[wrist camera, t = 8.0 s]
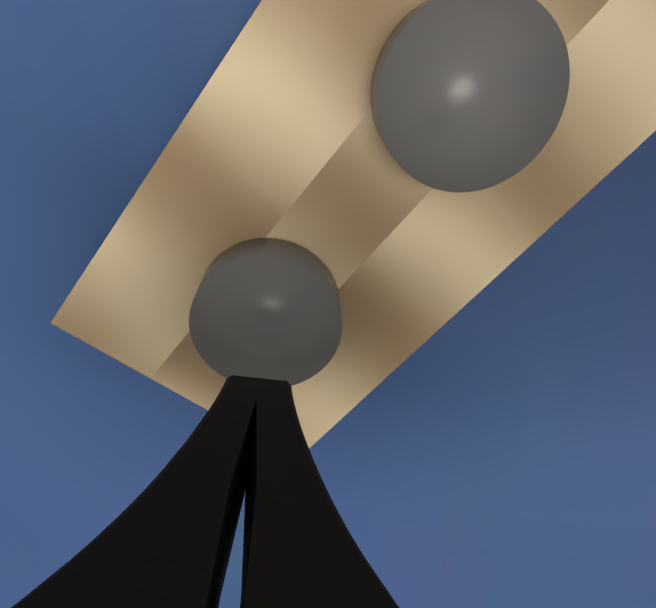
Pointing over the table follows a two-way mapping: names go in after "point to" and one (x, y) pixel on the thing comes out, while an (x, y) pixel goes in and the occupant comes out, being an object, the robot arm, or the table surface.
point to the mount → (345, 194)
